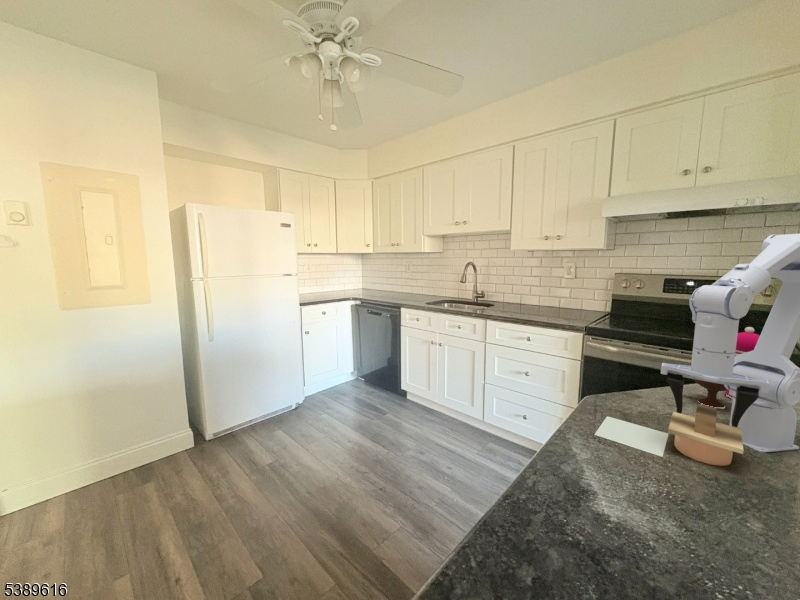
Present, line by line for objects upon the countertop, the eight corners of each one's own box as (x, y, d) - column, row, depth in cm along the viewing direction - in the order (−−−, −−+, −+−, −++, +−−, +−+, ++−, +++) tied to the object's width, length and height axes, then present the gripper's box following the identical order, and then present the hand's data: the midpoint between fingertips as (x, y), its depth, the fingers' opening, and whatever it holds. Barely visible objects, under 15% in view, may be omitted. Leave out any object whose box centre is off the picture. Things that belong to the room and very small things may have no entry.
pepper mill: (769, 405, 84) (779, 330, 81) (736, 403, 85) (746, 329, 83) (744, 394, 91) (753, 324, 88) (715, 392, 92) (723, 323, 90)
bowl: (697, 441, 67) (700, 421, 67) (743, 465, 59) (746, 442, 59) (664, 444, 66) (666, 423, 66) (705, 469, 58) (708, 446, 58)
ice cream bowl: (754, 416, 78) (762, 356, 76) (700, 412, 80) (707, 353, 78) (720, 397, 88) (726, 344, 87) (673, 394, 91) (679, 343, 89)
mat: (606, 417, 78) (607, 416, 78) (668, 435, 70) (668, 433, 70) (594, 436, 69) (594, 434, 69) (662, 458, 61) (662, 456, 61)
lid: (672, 415, 69) (674, 395, 69) (740, 432, 62) (742, 410, 62) (667, 432, 62) (670, 411, 62) (743, 454, 55) (746, 430, 55)
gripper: (661, 346, 62) (655, 412, 64) (775, 362, 52) (764, 440, 54) (665, 340, 67) (659, 401, 69) (770, 353, 57) (760, 425, 59)
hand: (705, 417), depth 62 cm, fingers open, 7 cm apart
